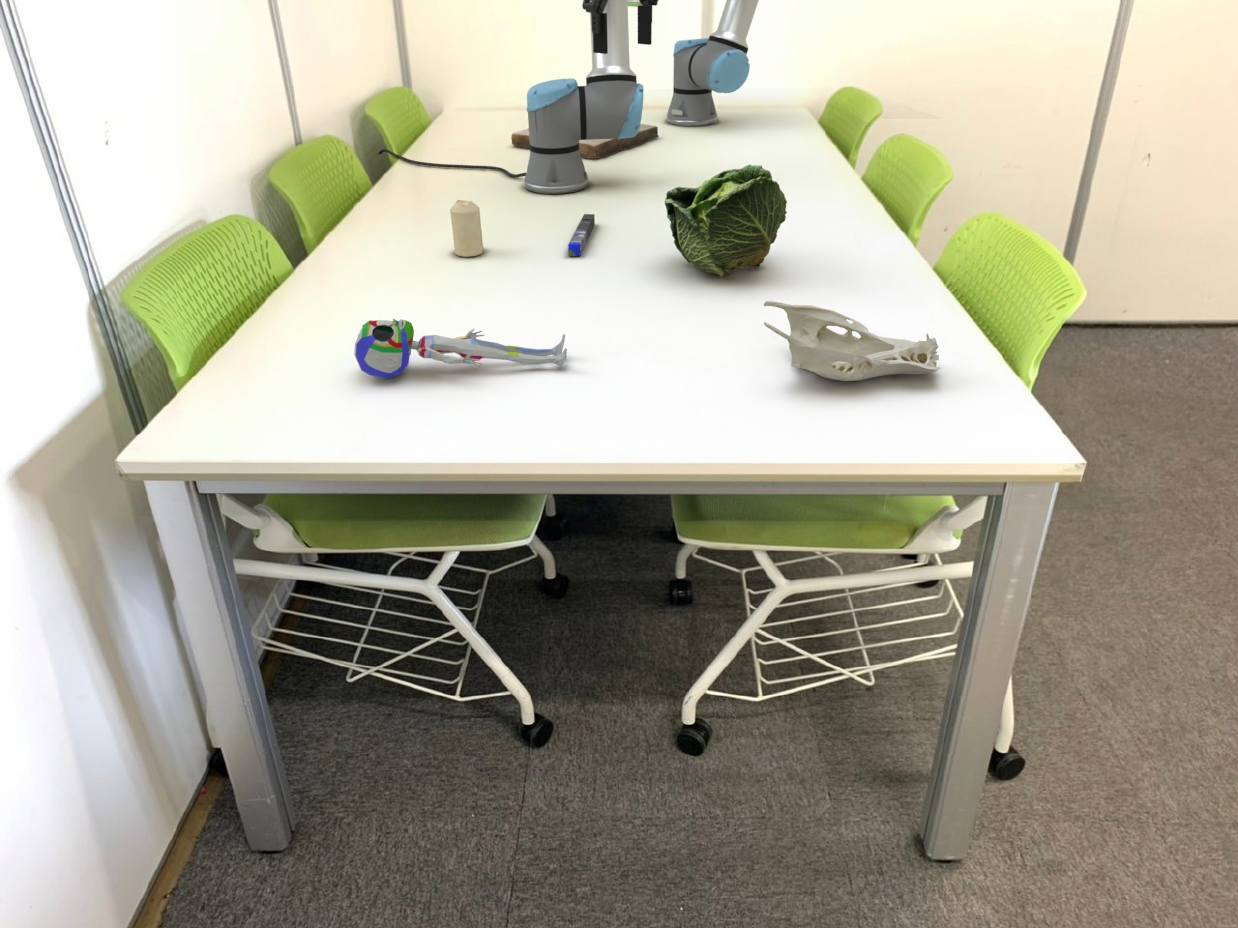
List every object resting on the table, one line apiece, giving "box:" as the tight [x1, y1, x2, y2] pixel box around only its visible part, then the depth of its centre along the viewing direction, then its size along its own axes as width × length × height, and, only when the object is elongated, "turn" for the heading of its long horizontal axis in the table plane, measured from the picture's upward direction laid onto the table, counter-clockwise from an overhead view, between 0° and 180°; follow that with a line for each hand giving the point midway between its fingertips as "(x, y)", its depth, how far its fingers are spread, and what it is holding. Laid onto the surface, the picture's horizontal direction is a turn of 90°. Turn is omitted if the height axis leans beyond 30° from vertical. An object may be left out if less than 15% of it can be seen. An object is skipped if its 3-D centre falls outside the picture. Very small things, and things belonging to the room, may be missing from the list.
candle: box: [449, 199, 484, 258], centre depth 172 cm, size 6×6×10 cm
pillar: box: [567, 213, 596, 257], centre depth 180 cm, size 2×2×20 cm
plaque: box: [511, 123, 659, 160], centre depth 251 cm, size 30×7×30 cm
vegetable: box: [664, 164, 788, 278], centre depth 161 cm, size 20×19×20 cm
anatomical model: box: [763, 300, 941, 382], centre depth 127 cm, size 15×9×25 cm
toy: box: [353, 318, 568, 379], centre depth 130 cm, size 10×8×30 cm
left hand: (623, 48), depth 167 cm, fingers open, 13 cm apart
